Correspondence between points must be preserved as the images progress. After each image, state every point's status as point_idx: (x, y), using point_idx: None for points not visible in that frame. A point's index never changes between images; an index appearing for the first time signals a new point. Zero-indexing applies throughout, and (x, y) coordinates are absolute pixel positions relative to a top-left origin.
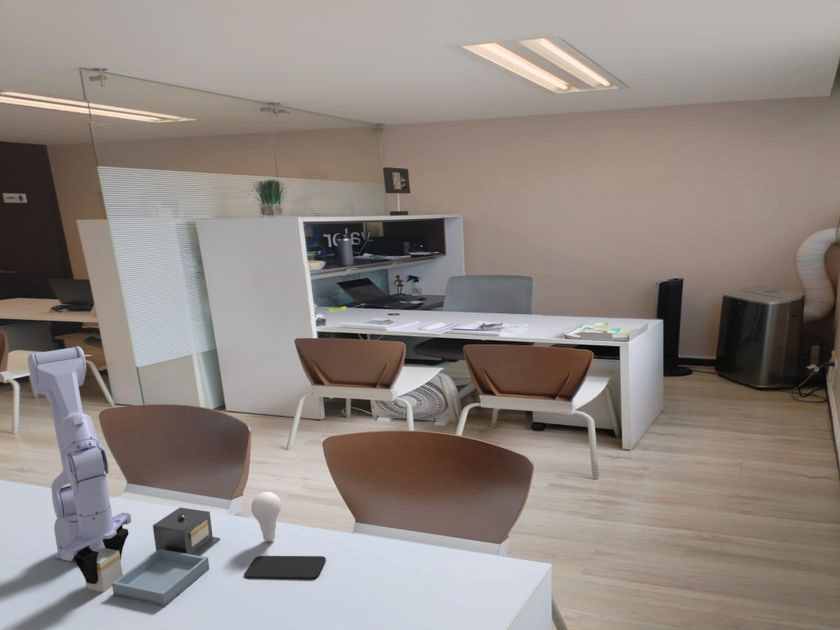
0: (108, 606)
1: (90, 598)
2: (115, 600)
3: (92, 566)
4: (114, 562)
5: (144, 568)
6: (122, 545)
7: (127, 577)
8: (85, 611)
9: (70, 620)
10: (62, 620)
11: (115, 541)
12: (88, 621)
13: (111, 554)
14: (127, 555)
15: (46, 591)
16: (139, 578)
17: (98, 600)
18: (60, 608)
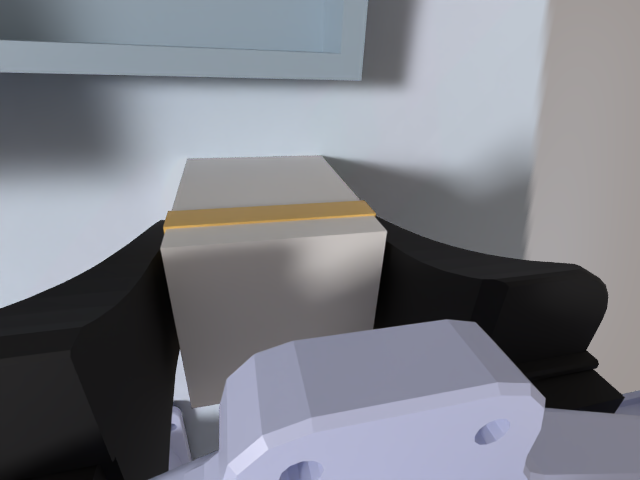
0: (425, 15)
1: (377, 180)
2: (371, 18)
3: (438, 247)
4: (233, 209)
5: (57, 41)
6: (80, 284)
7: (238, 49)
8: (467, 115)
9: (524, 128)
10: (522, 164)
11: (130, 356)
12: (538, 25)
13: (240, 260)
14: None
15: None
16: (157, 7)
17: (385, 125)
18: (451, 241)
